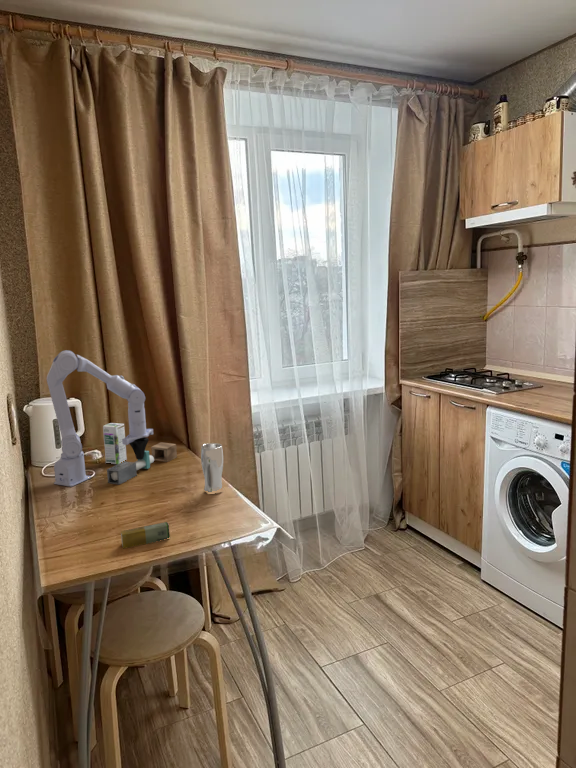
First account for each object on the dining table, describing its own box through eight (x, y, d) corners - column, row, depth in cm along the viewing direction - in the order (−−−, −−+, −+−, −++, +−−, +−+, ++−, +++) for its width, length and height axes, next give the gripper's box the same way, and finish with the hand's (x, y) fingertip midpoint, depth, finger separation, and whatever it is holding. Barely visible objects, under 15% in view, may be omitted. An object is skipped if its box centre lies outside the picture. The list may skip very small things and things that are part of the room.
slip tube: (119, 482, 183) (118, 464, 182) (110, 481, 185) (108, 463, 184) (155, 464, 201) (154, 448, 200) (146, 463, 202) (145, 447, 201)
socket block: (167, 461, 205) (166, 448, 204) (152, 459, 208) (151, 446, 207) (176, 457, 210) (176, 444, 209) (161, 455, 213) (160, 442, 212)
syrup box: (105, 463, 204) (101, 425, 202) (114, 458, 210) (111, 422, 207) (118, 464, 203) (115, 426, 200) (127, 460, 208) (124, 422, 206)
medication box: (168, 535, 145) (167, 521, 145) (170, 539, 143) (169, 524, 142) (121, 545, 140) (120, 530, 140) (122, 549, 138) (121, 534, 137)
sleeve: (119, 484, 182) (118, 470, 182) (108, 482, 184) (106, 469, 183) (136, 475, 190) (135, 462, 190) (125, 474, 192) (124, 461, 192)
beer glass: (198, 494, 173) (196, 448, 170) (208, 486, 179) (206, 442, 177) (219, 496, 171) (217, 449, 168) (228, 488, 177) (226, 443, 175)
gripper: (132, 427, 185) (135, 466, 187) (159, 417, 198) (161, 454, 200) (116, 426, 187) (119, 464, 190) (143, 416, 201) (145, 452, 203)
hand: (139, 458), depth 195 cm, fingers closed
